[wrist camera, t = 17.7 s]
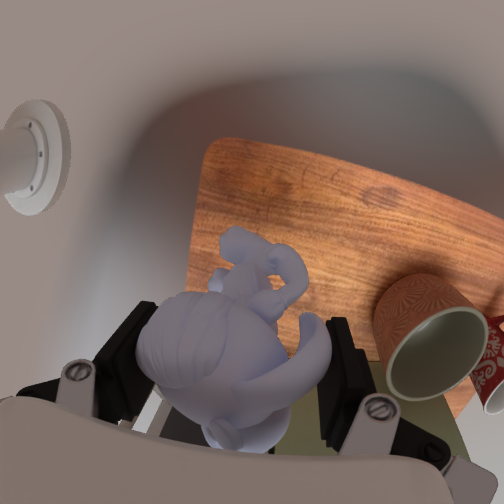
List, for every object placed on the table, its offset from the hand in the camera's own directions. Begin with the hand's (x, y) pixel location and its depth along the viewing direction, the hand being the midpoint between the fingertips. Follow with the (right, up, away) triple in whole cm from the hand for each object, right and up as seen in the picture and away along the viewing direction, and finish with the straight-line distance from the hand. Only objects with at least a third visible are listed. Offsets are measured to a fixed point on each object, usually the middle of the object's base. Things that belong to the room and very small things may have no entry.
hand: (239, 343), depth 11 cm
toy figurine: (+1, +3, +7) cm, 7 cm away
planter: (+21, -3, +22) cm, 30 cm away
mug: (+35, -7, +22) cm, 41 cm away
